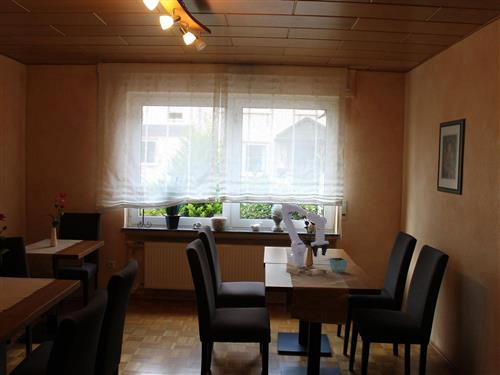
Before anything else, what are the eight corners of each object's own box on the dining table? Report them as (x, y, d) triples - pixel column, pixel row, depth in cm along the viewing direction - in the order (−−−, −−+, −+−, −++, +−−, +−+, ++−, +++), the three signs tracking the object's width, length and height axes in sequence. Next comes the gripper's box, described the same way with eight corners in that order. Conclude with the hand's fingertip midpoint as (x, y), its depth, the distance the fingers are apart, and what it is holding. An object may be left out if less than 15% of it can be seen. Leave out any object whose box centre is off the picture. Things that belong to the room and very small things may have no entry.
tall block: (296, 275, 296) (296, 265, 296) (286, 272, 303) (286, 262, 303) (298, 274, 298) (299, 265, 297) (289, 271, 305) (289, 262, 304)
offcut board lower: (306, 273, 299) (306, 271, 299) (317, 271, 305) (317, 270, 305) (311, 275, 295) (311, 273, 295) (322, 273, 301) (323, 271, 301)
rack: (294, 273, 304) (294, 268, 304) (310, 270, 313) (310, 266, 313) (310, 277, 293) (310, 272, 293) (326, 274, 302) (326, 270, 302)
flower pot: (334, 274, 303) (335, 260, 303) (328, 271, 312) (329, 257, 311) (347, 274, 306) (347, 260, 305) (341, 271, 314) (341, 257, 314)
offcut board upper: (309, 272, 299) (309, 270, 299) (316, 270, 304) (316, 268, 304) (314, 273, 296) (314, 271, 296) (321, 271, 302) (321, 269, 302)
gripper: (316, 236, 303) (316, 258, 304) (332, 235, 312) (331, 255, 313) (308, 235, 309) (308, 256, 309) (324, 233, 318) (323, 254, 318)
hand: (319, 256), depth 312 cm, fingers open, 7 cm apart
